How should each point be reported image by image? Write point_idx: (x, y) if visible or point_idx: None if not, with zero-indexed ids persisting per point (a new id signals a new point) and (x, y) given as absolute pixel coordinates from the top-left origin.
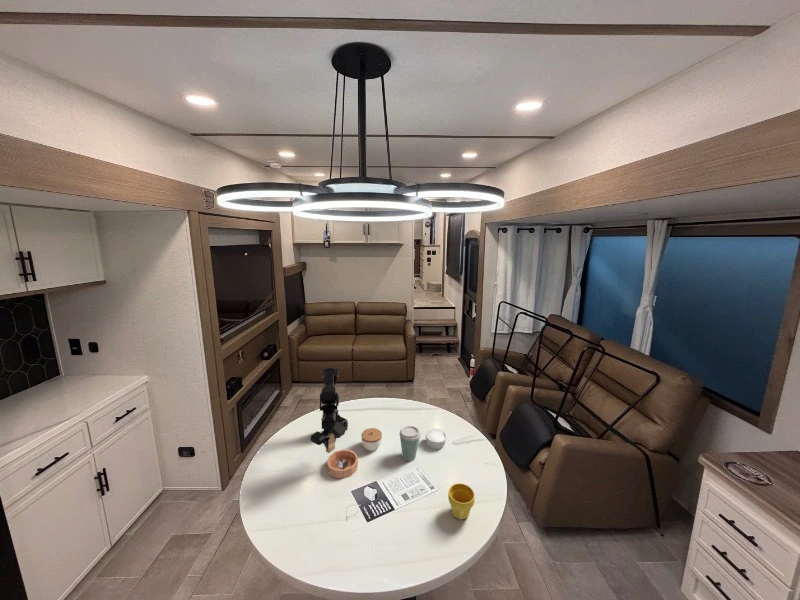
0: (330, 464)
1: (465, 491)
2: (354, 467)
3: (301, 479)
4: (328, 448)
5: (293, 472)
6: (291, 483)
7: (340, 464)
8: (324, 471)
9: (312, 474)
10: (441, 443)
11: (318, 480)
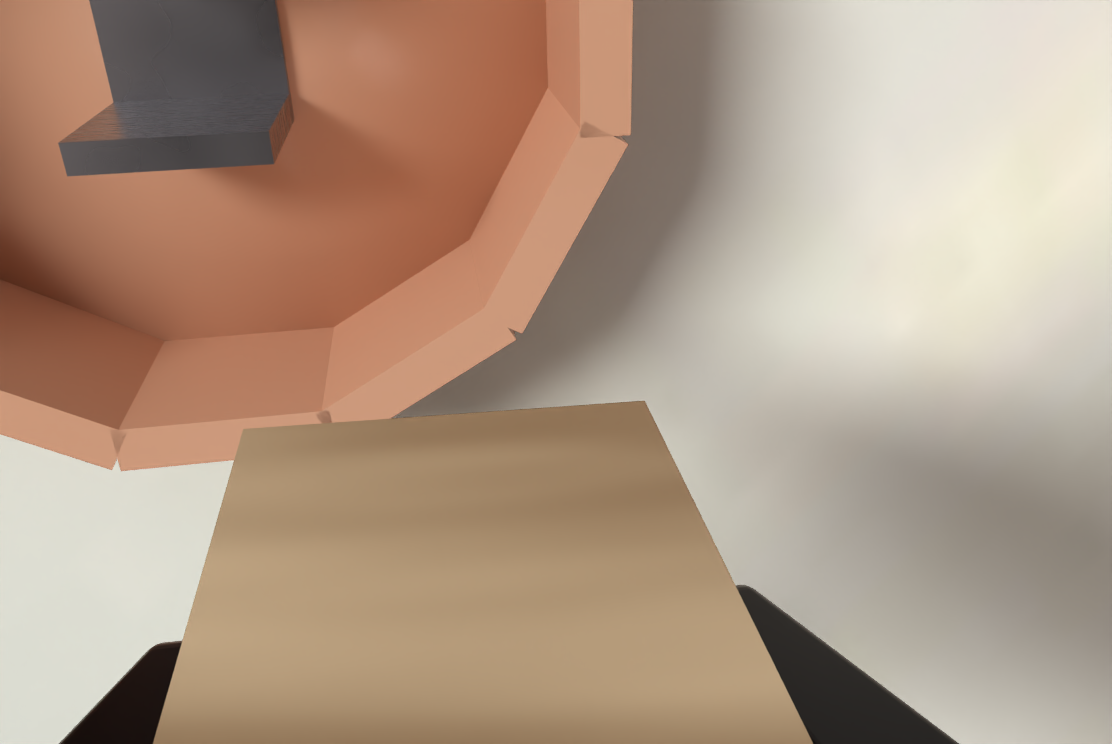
0: (372, 301)
1: None
2: None
3: (940, 429)
4: (720, 567)
5: (873, 627)
6: (1069, 476)
7: (205, 96)
8: (577, 260)
9: (762, 378)
10: None
11: (828, 166)
